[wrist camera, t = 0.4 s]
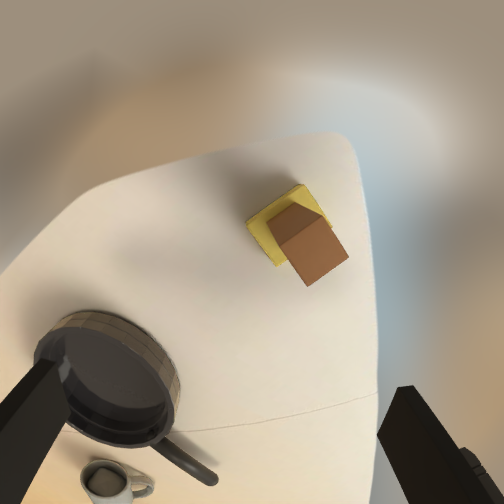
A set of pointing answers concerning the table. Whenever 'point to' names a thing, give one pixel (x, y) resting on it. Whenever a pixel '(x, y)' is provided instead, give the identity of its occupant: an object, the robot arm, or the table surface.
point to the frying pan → (112, 379)
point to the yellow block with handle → (298, 235)
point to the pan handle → (184, 460)
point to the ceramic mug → (112, 483)
